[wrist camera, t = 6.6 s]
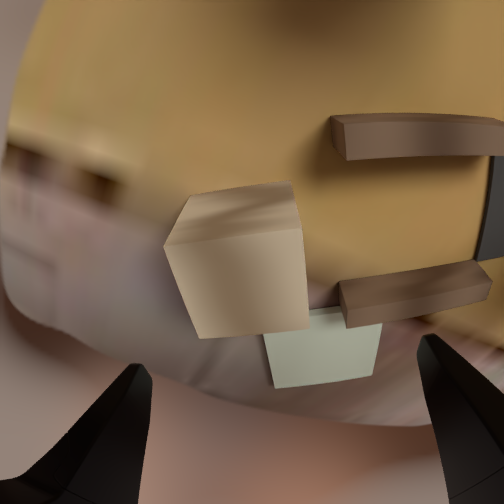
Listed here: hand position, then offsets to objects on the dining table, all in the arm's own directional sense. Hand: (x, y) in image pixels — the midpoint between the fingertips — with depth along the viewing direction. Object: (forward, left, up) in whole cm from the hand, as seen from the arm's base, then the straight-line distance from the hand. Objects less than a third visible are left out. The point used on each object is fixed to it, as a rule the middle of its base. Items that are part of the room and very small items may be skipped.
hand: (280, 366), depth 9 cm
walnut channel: (-8, 0, -8) cm, 12 cm away
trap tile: (-16, 0, -8) cm, 18 cm away
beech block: (+1, 0, -9) cm, 9 cm away
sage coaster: (-2, +10, -8) cm, 13 cm away
